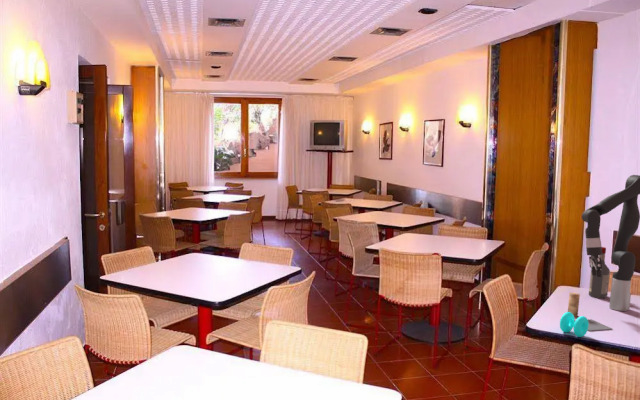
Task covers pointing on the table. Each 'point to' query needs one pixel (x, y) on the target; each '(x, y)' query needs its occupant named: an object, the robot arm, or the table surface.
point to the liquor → (600, 280)
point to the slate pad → (596, 326)
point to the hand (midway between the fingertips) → (596, 276)
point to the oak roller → (573, 303)
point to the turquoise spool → (574, 324)
